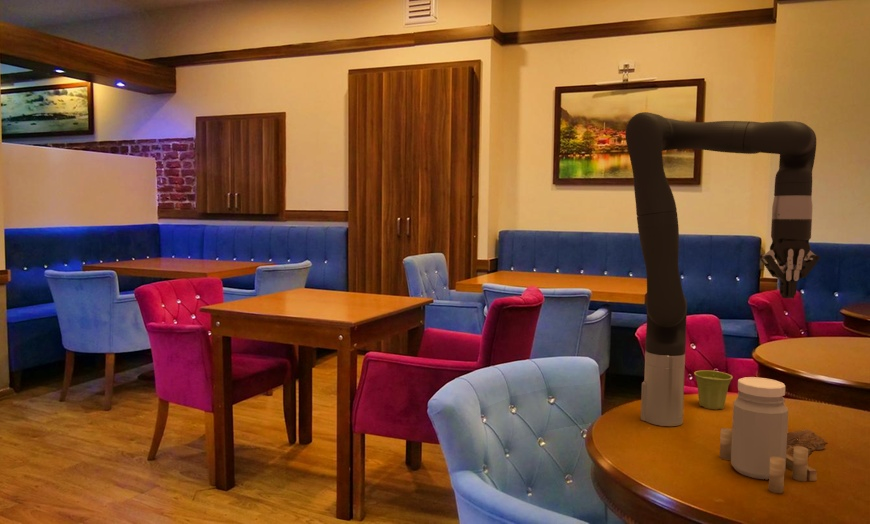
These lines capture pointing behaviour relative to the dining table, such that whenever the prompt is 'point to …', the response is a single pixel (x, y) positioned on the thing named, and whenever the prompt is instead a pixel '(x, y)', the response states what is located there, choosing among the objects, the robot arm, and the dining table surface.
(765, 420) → the jar
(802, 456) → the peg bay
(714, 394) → the plant pot
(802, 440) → the wooden fragment
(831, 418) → the dining table surface
